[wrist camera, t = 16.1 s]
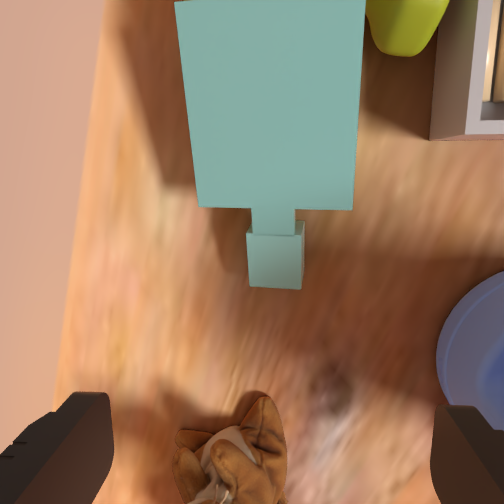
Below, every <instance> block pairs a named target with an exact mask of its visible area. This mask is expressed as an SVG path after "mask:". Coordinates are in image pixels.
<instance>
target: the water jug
mask: <svg viewBox="0 0 504 504" xmlns="http://www.w3.org/2000/svg"><path fill="white" fill-rule="evenodd" d="M436 368H437V374H438V379H439V382H440V385H441V388H442V390H443V393H444V395H445V397H446V398H447V400H448V402H449V404H450V405H468V406H474V407H476V408H477V409H478V410H479V412H480V413H481V414H482V415H483V417H484V418H485V419H486V420H487V422H488V423H489V424H490V425H491V427H492V428H493V429H494V430H503V431H504V271H502V272H500V273H497V274H495V275H493V276H491V277H489V278H488V279H486V280H484V281H483V282H481V283H480V284H478V285H477V286H475V287H474V288H473V289H472V290H470V291H469V292H468V293H467V294H466V295H465V296H464V297H463V298H462V299H461V300H460V301H459V302H458V303H457V305H456V306H455V307H454V308H453V310H452V311H451V313H450V314H449V316H448V318H447V320H446V321H445V323H444V326H443V328H442V330H441V333H440V336H439V340H438V344H437V351H436Z"/></svg>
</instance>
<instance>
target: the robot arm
mask: <svg viewBox="0 0 504 504" xmlns="http://www.w3.org/2000/svg"><path fill="white" fill-rule="evenodd" d="M113 456H114V440H113V430H112V420H111V409H110V400H109V397H108V395H107V393H104V392H74V393H72V394H71V395H70V396H69V398H68V399H67V400H66V401H65V402H64V403H63V404H62V405H61V406H60V407H59V408H58V410H57V411H56V412H49V413H48V414H46V415H44V416H43V417H41V418H39V419H38V420H36V421H35V422H33V423H32V424H30V425H28V427H27V428H26V429H25V430H24V431H23V432H22V433H21V434H20V435H19V436H18V437H17V438H16V439H15V440H14V441H13V444H12V445H9V446H8V447H7V448H6V449H5V450H4V451H3V452H2V453H1V454H0V504H92V502H93V501H94V499H95V497H96V495H97V493H98V492H99V490H100V488H101V486H102V484H103V483H104V481H105V479H106V477H107V475H108V473H109V471H110V468H111V465H112V461H113ZM430 470H431V477H432V482H433V486H434V489H435V491H436V494H437V496H438V498H439V500H440V502H441V504H504V431H503V430H494V429H493V428H492V427H491V425H490V424H489V423H488V422H487V420H486V419H485V418H484V417H483V415H482V414H481V413H480V412H479V410H478V409H477V408H476V407H474V406H468V405H438V406H437V408H436V411H435V418H434V428H433V438H432V448H431V457H430Z"/></svg>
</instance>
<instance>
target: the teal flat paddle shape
mask: <svg viewBox="0 0 504 504" xmlns="http://www.w3.org/2000/svg"><path fill="white" fill-rule="evenodd" d="M365 5H366V0H190V1H179V2H174V6H175V15H176V23H177V31H178V40H179V48H180V56H181V65H182V73H183V81H184V90H185V98H186V106H187V115H188V123H189V131H190V140H191V148H192V156H193V165H194V173H195V181H196V190H197V198H198V206H199V207H220V208H251V212H252V223H251V225H250V227H249V229H248V231H247V232H246V241H247V257H248V272H249V286H251V287H267V288H283V289H298V290H301V287H302V282H303V276H304V243H305V221H304V220H295V209H314V210H352V209H353V193H354V178H355V162H356V146H357V131H358V115H359V99H360V83H361V68H362V52H363V36H364V20H365Z"/></svg>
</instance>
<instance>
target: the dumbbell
mask: <svg viewBox="0 0 504 504" xmlns="http://www.w3.org/2000/svg"><path fill="white" fill-rule="evenodd" d="M183 1H190V0H183ZM448 3H449V0H366V5H365V15H366V16H367V17H368V20H369V24H370V31H371V35H372V38H373V40H374V42H375V44H376V46H377V47H378V49H379V50H380V51H382V52H384V53H385V54H389V55H394V56H403V57H412V56H415V55H417V54H419V53H420V52H421V51H422V50H423V49H424V47H425V46H426V45H427V44H428V42H429V40H430V39H431V37H432V35H433V33H434V31H435V30H436V28H437V26H438V24H439V22H440V20H441V18H442V16H443V14H444V12H445V10H446V8H447V6H448Z"/></svg>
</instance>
